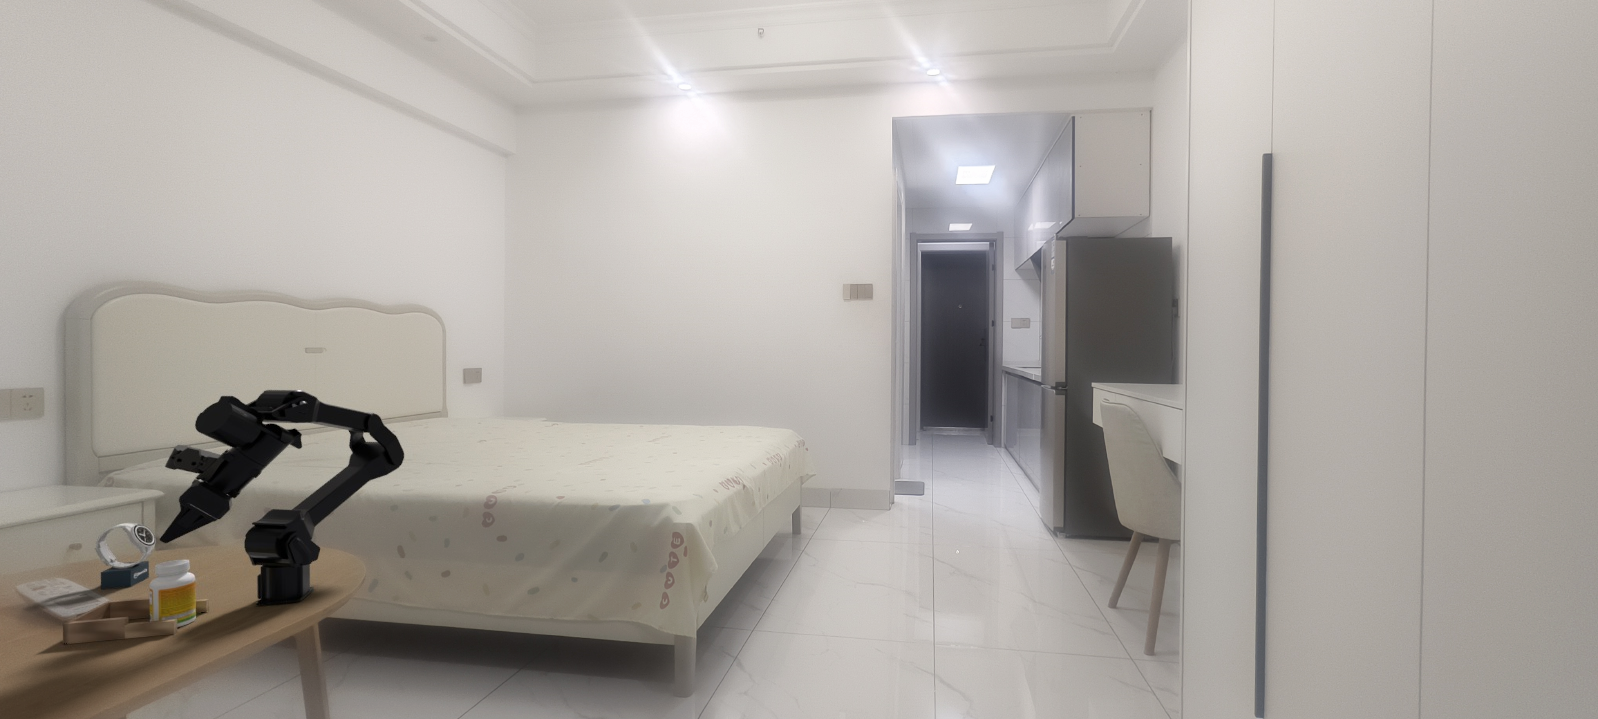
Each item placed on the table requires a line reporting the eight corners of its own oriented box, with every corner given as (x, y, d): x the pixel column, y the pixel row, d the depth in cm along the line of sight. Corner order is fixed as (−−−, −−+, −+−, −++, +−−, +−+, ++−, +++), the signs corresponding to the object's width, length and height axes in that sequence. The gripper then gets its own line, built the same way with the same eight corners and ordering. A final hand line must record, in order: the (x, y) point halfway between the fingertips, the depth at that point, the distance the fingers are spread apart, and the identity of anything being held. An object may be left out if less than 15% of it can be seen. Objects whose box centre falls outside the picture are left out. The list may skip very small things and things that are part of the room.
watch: (144, 585, 125) (143, 526, 125) (88, 590, 123) (87, 529, 122) (161, 575, 130) (161, 518, 130) (108, 580, 128) (108, 522, 128)
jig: (209, 610, 113) (209, 592, 113) (174, 633, 104) (173, 614, 104) (108, 619, 110) (108, 600, 109) (63, 644, 100) (62, 624, 100)
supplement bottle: (205, 617, 110) (204, 558, 110) (171, 631, 105) (170, 568, 105) (175, 616, 111) (174, 557, 111) (140, 629, 106) (139, 567, 105)
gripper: (210, 419, 118) (129, 493, 112) (193, 434, 103) (98, 519, 97) (271, 457, 123) (196, 530, 117) (264, 477, 108) (177, 560, 102)
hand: (168, 534), depth 108 cm, fingers open, 9 cm apart
